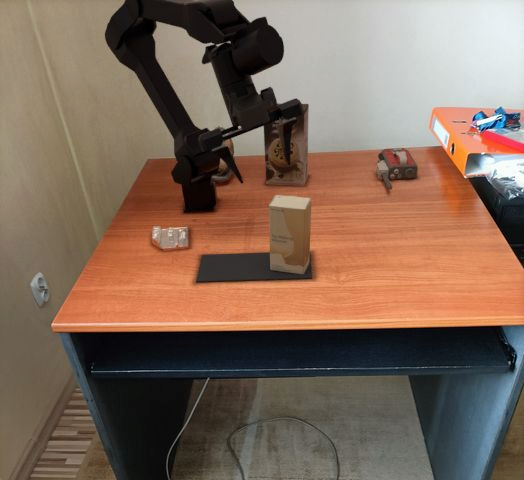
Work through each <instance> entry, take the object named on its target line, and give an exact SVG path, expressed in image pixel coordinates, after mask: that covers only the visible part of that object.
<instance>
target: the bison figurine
mask: <svg viewBox="0 0 524 480" xmlns="http://www.w3.org/2000/svg"><path fill="white" fill-rule="evenodd" d="M217 128H219V129H220V131H222V130H225V129H226V128H225V127H222V126H220V125H217V127H215V128H214V129H217ZM224 142H225V143H224V144H225V146H228V147H229V150H230V153H231V155H232V157H233V159H234V161H235V162H236V159H235V157H234V155H235V145H234V142H233V138H231V139H228V140H226V141H224ZM232 174H234V173H233V172H232V171H231V169H230V168H229V167H228V165H227V164H226V163H225V162H224V161H223V160H222V159H220V165H219V171H218V174H217V175H213V176H212V180H213V182H215V183H226V182H228V180H229V179H230V178H231V177H232Z"/></svg>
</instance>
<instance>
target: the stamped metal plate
mask: <svg viewBox="0 0 524 480" xmlns="http://www.w3.org/2000/svg"><path fill="white" fill-rule="evenodd" d="M189 229H190V228H189V226H182V227H173V226H169V227H167V228H162V226H161V225H155V226H154V225H153V226H152V232H151V241H152V242H151V243H152V245H154V246H155V247H157V248H159V249H160V250H161V251H163V252H165V251H175V250H184V249H189V232H190V231H189Z"/></svg>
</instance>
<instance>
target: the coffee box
mask: <svg viewBox="0 0 524 480" xmlns="http://www.w3.org/2000/svg"><path fill="white" fill-rule="evenodd" d="M279 104H280V103H278V102H277V105H279ZM309 106H310V105H309V103H302V107H303V110H304V114H302V115H300V116H297V117H295V118H296V119H298V122H297V123H295V124H294V125H293V129H292V134H291V156H290V165H287V163H286V161H285V158H284V154H283V150H282V146H281V142H280V138H279V134H278V130H277V126H276V125H279V122H278V120H277V121H275V122H272V123H270V124H267V125H264V126H263V142H264V143H263V145H264V165H265V185H271V186H272V185H273V186H274V185H275V186H293V187H294V186H295V187H297V186H298V187H304V186H305V185H306V181H307V179H308V177H309V168H308V167H309ZM273 111H274V110H273ZM268 113H269V112H268Z"/></svg>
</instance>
